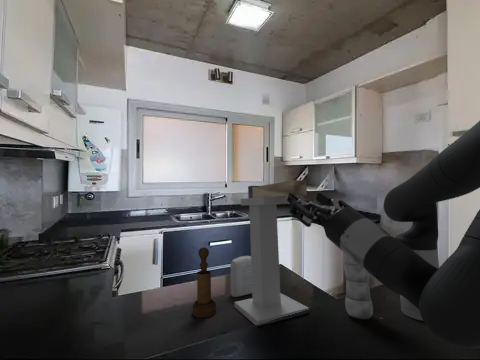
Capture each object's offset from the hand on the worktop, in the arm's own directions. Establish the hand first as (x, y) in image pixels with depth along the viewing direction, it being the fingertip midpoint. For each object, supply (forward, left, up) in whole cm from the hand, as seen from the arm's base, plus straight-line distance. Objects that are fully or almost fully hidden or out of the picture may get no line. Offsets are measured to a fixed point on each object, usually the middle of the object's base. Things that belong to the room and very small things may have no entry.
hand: (304, 196), depth 58 cm
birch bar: (0, -13, 0) cm, 13 cm away
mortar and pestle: (+17, -25, -32) cm, 44 cm away
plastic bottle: (-18, -2, -32) cm, 37 cm away
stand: (0, -17, -32) cm, 36 cm away
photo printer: (0, -33, -32) cm, 46 cm away
